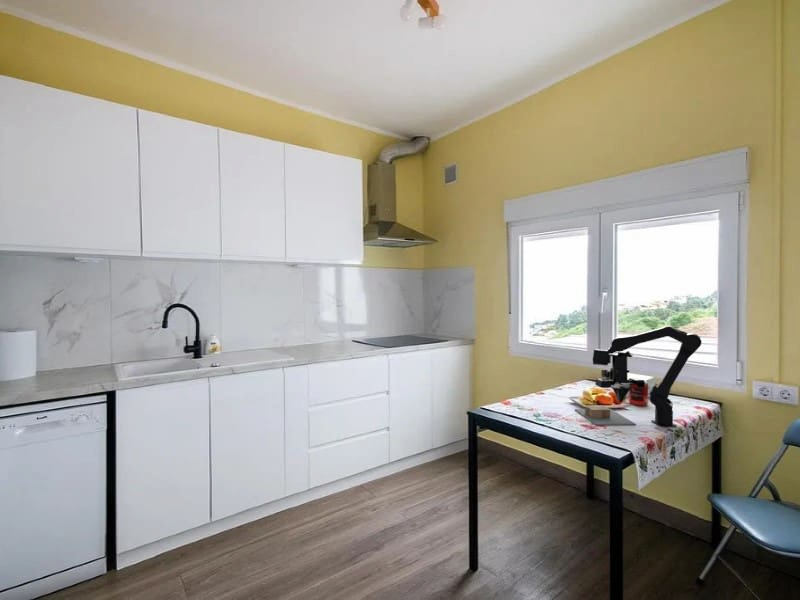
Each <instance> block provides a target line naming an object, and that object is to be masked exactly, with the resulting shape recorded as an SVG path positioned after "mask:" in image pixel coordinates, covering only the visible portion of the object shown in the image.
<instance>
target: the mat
mask: <svg viewBox="0 0 800 600" xmlns="http://www.w3.org/2000/svg"><path fill="white" fill-rule="evenodd" d="M609 409H610V418H591V417H589V416H588V415H586V414H585V408H574V411H575V412H576V413H578V414H580V415H581V416H582V417H583V418H585V419H587V420H588V421H589V422H590V423H592V424H593V425H595V426H636V425H637V424H636V423H635V422H633V420H630V419H629V418H627V417H625V416H623V415H622V414H620V413H618V412H616V411H614V410H613V409H611V408H609Z"/></svg>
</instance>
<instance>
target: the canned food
mask: <svg viewBox="0 0 800 600" xmlns="http://www.w3.org/2000/svg"><path fill="white" fill-rule="evenodd" d="M630 387H631V388H632V389H630V390H629V398H628V400H629V401H628V402H629V404H630V405H633V406H635V407H647V406H648V404H649V403H648V402H649V397H648V382H647V381H645V387H638V386H637V385H630Z"/></svg>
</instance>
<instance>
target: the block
mask: <svg viewBox="0 0 800 600" xmlns="http://www.w3.org/2000/svg"><path fill="white" fill-rule="evenodd" d="M584 409H585V414H586V415H588V416H589V417H591V418H610V409H611V408H609V407H606V406H605V405H603V404H602V405H601V404H600V405H584Z"/></svg>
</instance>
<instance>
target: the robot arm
mask: <svg viewBox="0 0 800 600" xmlns="http://www.w3.org/2000/svg"><path fill="white" fill-rule="evenodd" d="M667 337H669V338H672V339H673V340H676V341H677V342H680V343H681V344H680V347H679V350H678V353H677V354H676V356H675V358H674V359H673V361H672V363H671V365H670V366H669V369H668V370H667V371H666V373H665V375H664V376H663V378H662V380H661V381H660V382H659V383H658V384H657V383H656V382H654V386H653V388H652V389H651V390H650V392H649V395H650V396H649V402H650V403H651V404H652V405H653V406H654V408H655V409H654V419H652V420H651V422H652V423H653V424H655V425H657V426H659V427H677V426H678V425H677V424H675V423H674V411H673V407H674V406H673V405H674V403H673V401H671V399H669V395H670V392H671V388H672V386H673V385H674V383H675V382H676V380H677V378H678V376H679V375H680V373H681V372H682V370H683V368H684V367H685V365H686V363H687V361H688V360H689V358H690V357H691V356H692V355H694V354H695V352H697V350H698V349H699V348H700V347H701V346H702V339H701V336H699V335H698V334H697V333H695V332H689V333H688V332H686V331H684V330H680V329H678V328H675V327H673V326H672V325H665V326H663V327H659V328H656V329H653V330H649V331H646V332H642V333H638V334H634V335H633V334H632V335H623V336H622V335H621V336H617V337H615V338H614V339H613V340H611V343H610V344H611V346H610V347H609V348H607V349H598V348H594V349H593V354H592V356H593V357H592V365H594V366H595V365H597V366H606V367H607V366H608V365H609V364H612V365H611V367H610V370H609V371H608V370H607V369H602V370H601V371H600V372H601V373H600V374H601V377H602V378H596V380H595V381H594V382H595V384H594V385H595V386H597V387H599V388H601V389H612V391H613V393H614V392H615V394H616V395H615V397H616V399H617V402H618V404H622V403H623V402H624V400H625V398H626V397H625V396H626V394H627V393H628V392H629V390H630V389H632V388H631V387H630V385H637V386H638V387H645V381H644V380H642V379H639V378H629V379H628V373H630V370H629V369H628V358H632V357H633V353H631V352H630V351H629V350H628V349H631V348H632V347H634V346H636V345H639V344H643V343H647V342H651V341H654V340H658V339H659V340H660V339H663V338H667ZM626 350H627V351H626ZM616 352H617V353H616Z"/></svg>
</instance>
